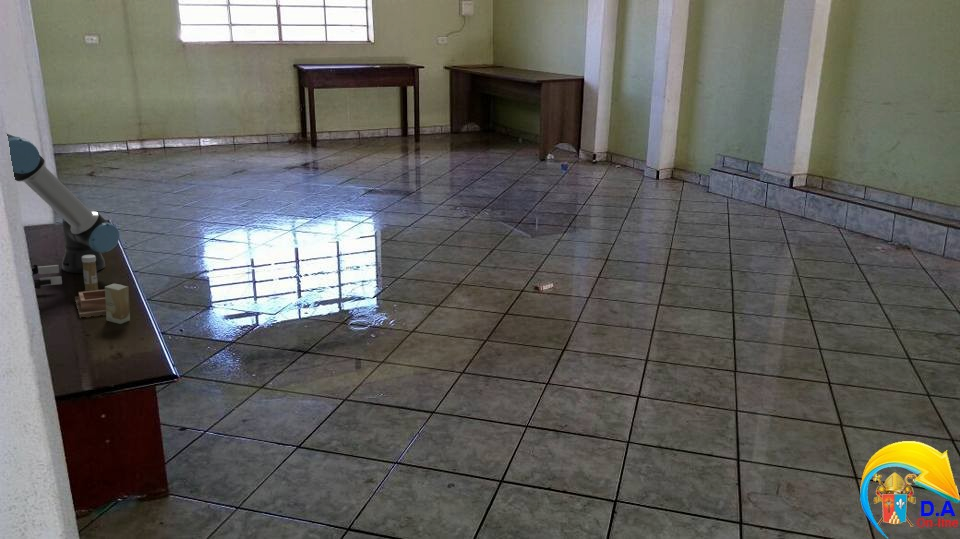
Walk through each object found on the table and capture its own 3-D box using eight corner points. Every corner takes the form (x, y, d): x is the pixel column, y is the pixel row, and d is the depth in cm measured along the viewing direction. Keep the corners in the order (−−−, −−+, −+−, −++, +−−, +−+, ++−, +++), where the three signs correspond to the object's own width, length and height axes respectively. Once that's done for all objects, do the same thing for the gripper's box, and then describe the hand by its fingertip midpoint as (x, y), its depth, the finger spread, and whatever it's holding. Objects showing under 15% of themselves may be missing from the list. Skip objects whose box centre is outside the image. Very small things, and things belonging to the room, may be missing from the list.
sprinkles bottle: (99, 292, 272) (96, 257, 268) (85, 293, 269) (82, 258, 265) (97, 288, 275) (94, 253, 271) (83, 289, 273) (80, 254, 269)
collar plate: (75, 300, 262) (73, 288, 261) (112, 296, 268) (111, 285, 267) (79, 318, 247) (78, 305, 246) (119, 313, 254) (118, 301, 252)
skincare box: (106, 320, 247) (103, 286, 243) (116, 316, 251) (113, 282, 247) (121, 324, 245) (118, 289, 241) (131, 320, 249) (128, 286, 245)
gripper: (-10, 280, 265) (58, 273, 276) (-10, 302, 245) (63, 295, 256) (-12, 260, 263) (56, 254, 274) (-12, 281, 243) (61, 274, 254)
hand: (60, 274), depth 265 cm, fingers open, 13 cm apart
